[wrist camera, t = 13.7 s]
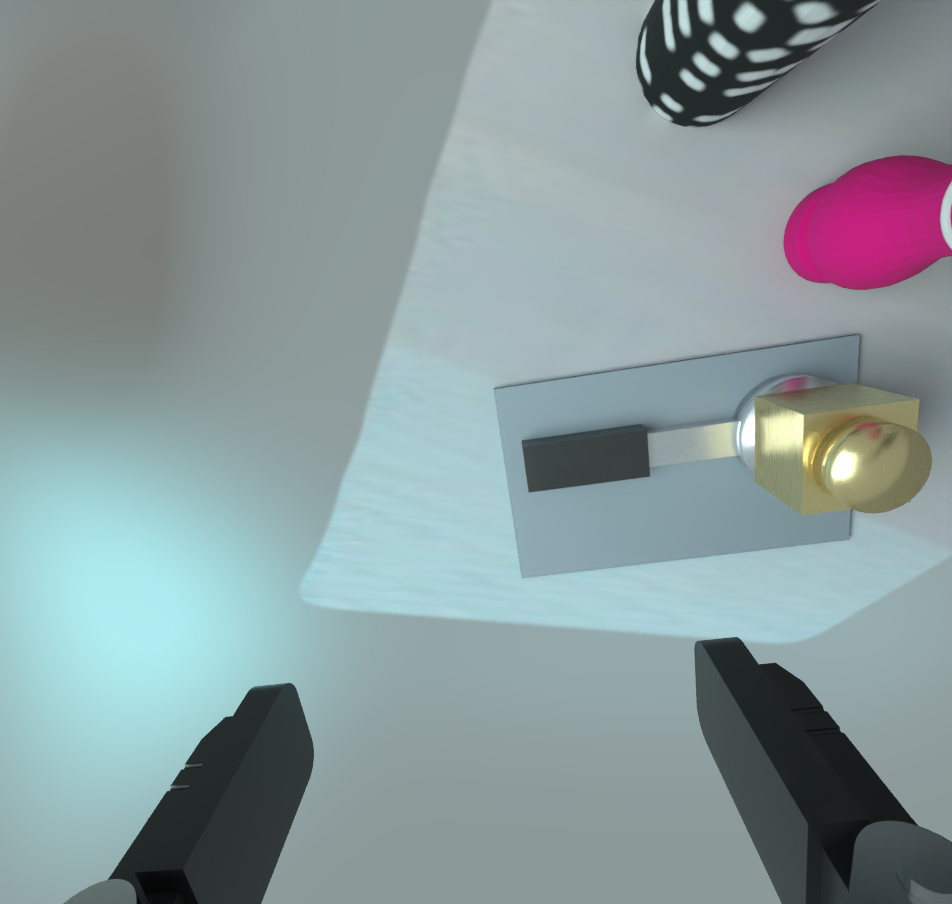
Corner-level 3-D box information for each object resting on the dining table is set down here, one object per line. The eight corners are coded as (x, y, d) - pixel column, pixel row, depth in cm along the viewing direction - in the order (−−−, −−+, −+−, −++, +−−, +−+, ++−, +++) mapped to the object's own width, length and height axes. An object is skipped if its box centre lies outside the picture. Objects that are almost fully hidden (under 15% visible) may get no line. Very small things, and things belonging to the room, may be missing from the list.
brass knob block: (754, 395, 36) (824, 423, 28) (850, 382, 35) (949, 406, 28) (754, 481, 38) (820, 529, 30) (846, 470, 37) (937, 515, 29)
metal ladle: (517, 412, 39) (520, 431, 34) (843, 365, 37) (901, 376, 32) (530, 510, 41) (535, 541, 36) (839, 470, 39) (892, 497, 34)
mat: (493, 388, 39) (493, 389, 38) (856, 334, 37) (859, 334, 36) (521, 575, 43) (521, 578, 43) (845, 537, 41) (849, 539, 41)
